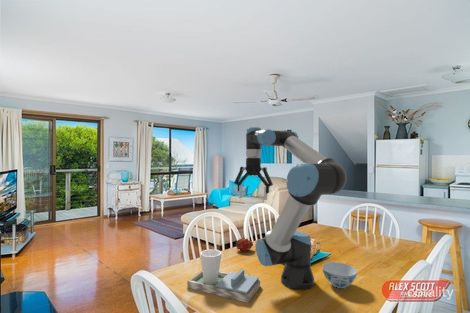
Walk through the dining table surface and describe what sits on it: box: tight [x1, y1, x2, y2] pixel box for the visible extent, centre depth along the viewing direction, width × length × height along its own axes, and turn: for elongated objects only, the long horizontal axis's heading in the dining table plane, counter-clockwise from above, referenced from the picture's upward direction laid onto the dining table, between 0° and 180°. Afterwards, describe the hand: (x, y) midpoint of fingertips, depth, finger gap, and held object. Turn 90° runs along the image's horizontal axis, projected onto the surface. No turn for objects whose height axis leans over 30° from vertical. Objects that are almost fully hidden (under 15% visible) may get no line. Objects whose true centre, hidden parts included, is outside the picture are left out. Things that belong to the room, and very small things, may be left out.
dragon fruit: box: [235, 237, 254, 253], centre depth 168 cm, size 8×8×12 cm
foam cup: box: [199, 249, 222, 285], centre depth 125 cm, size 10×9×13 cm
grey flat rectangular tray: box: [186, 269, 261, 304], centre depth 122 cm, size 29×15×3 cm, turn 66°
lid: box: [216, 268, 260, 294], centre depth 119 cm, size 14×15×4 cm
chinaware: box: [321, 261, 358, 289], centre depth 125 cm, size 15×15×8 cm
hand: (252, 198), depth 140 cm, fingers open, 13 cm apart
